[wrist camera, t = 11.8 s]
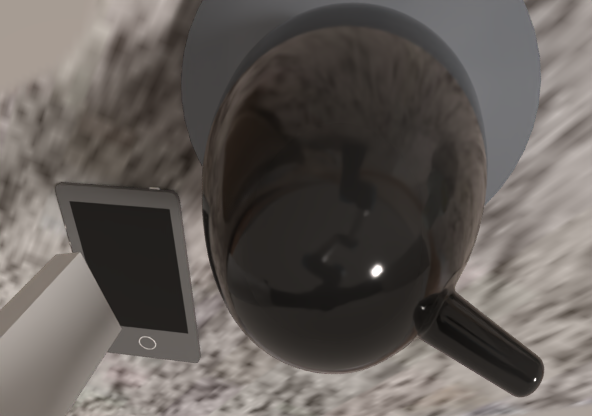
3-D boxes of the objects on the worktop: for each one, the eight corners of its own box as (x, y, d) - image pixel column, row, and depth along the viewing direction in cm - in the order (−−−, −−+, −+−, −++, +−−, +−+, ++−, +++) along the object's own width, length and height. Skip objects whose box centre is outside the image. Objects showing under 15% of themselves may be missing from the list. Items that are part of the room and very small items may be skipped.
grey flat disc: (530, -145, 18) (546, -154, 17) (526, 220, 26) (536, 239, 24) (147, -40, 22) (129, -39, 21) (242, 250, 30) (235, 269, 28)
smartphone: (57, 177, 30) (51, 182, 29) (180, 186, 29) (176, 191, 28) (104, 345, 37) (100, 351, 37) (203, 356, 36) (200, 363, 36)
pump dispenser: (398, 234, 25) (429, 540, 12) (221, 157, 25) (46, 393, 11) (511, 55, 20) (774, 243, 7) (291, -47, 20) (127, -52, 6)
